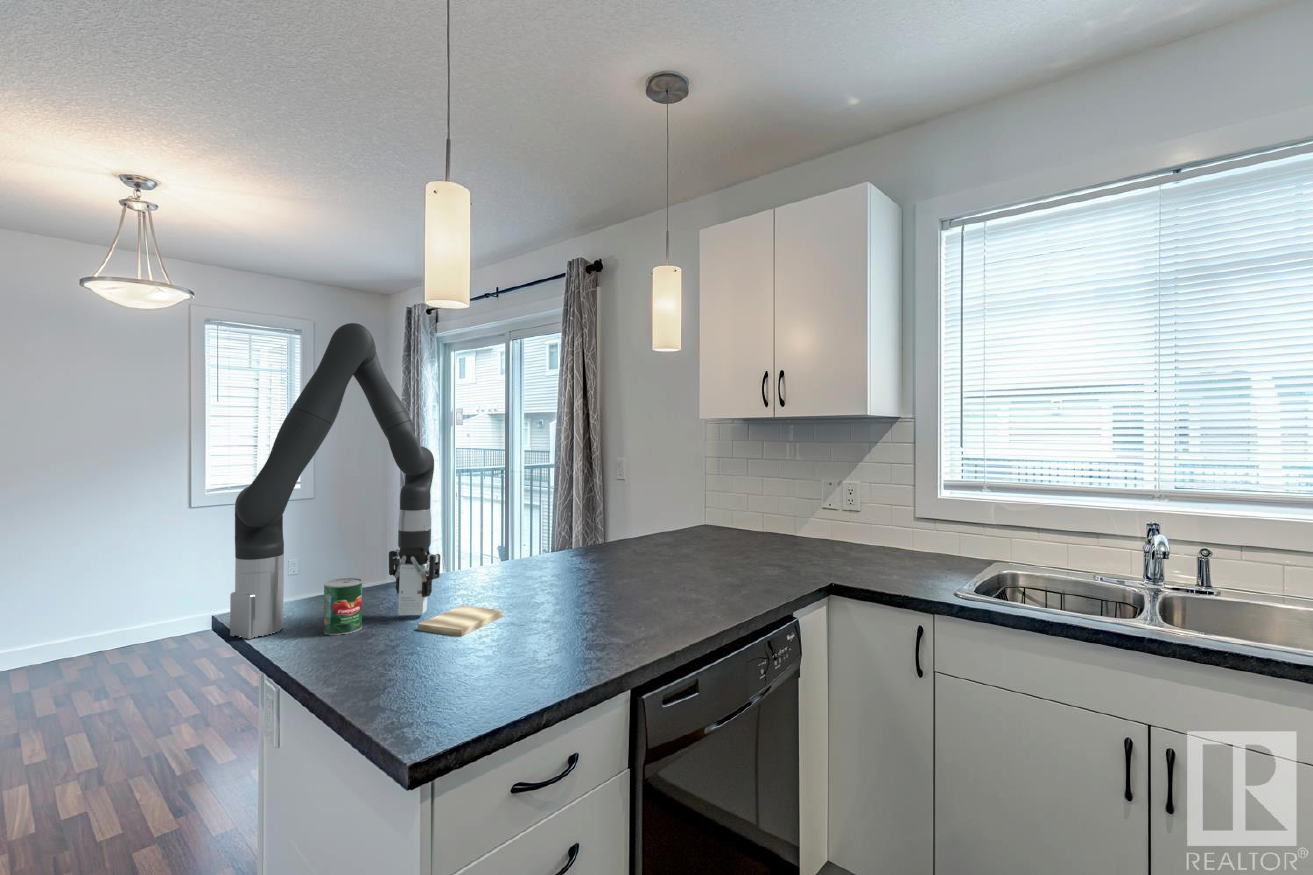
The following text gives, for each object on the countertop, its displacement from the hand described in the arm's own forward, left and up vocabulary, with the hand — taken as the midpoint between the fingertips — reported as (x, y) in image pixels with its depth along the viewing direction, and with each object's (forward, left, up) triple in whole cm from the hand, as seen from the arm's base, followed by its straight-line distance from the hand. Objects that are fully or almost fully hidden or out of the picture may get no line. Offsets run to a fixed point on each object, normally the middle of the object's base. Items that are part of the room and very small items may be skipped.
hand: (413, 594), depth 151 cm
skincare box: (0, 0, -5) cm, 5 cm away
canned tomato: (-14, +8, -6) cm, 17 cm away
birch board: (0, -14, -6) cm, 15 cm away
